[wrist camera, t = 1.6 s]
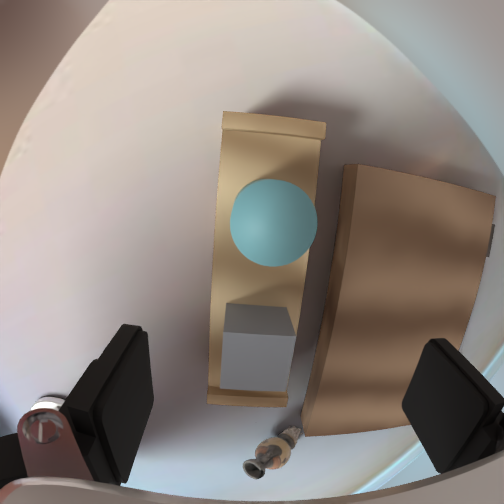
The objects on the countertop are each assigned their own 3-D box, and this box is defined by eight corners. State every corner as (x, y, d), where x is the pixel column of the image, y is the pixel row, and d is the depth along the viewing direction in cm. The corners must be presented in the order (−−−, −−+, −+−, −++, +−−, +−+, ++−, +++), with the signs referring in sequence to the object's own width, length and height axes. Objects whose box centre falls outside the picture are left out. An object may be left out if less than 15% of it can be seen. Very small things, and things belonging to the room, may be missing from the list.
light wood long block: (278, 367, 27) (286, 407, 22) (212, 364, 27) (206, 403, 21) (307, 133, 22) (326, 122, 17) (227, 125, 22) (223, 111, 16)
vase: (234, 445, 29) (234, 484, 23) (253, 411, 28) (257, 452, 23) (278, 455, 30) (285, 493, 24) (301, 423, 29) (312, 462, 23)
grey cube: (278, 357, 22) (285, 391, 18) (222, 353, 21) (219, 388, 17) (286, 307, 21) (296, 336, 17) (226, 302, 20) (223, 332, 16)
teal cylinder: (294, 245, 20) (311, 269, 15) (230, 241, 19) (227, 263, 15) (301, 182, 19) (321, 184, 14) (235, 175, 18) (233, 176, 14)
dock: (422, 404, 29) (433, 419, 26) (300, 416, 28) (305, 436, 25) (481, 194, 23) (502, 198, 20) (344, 164, 22) (358, 163, 20)
